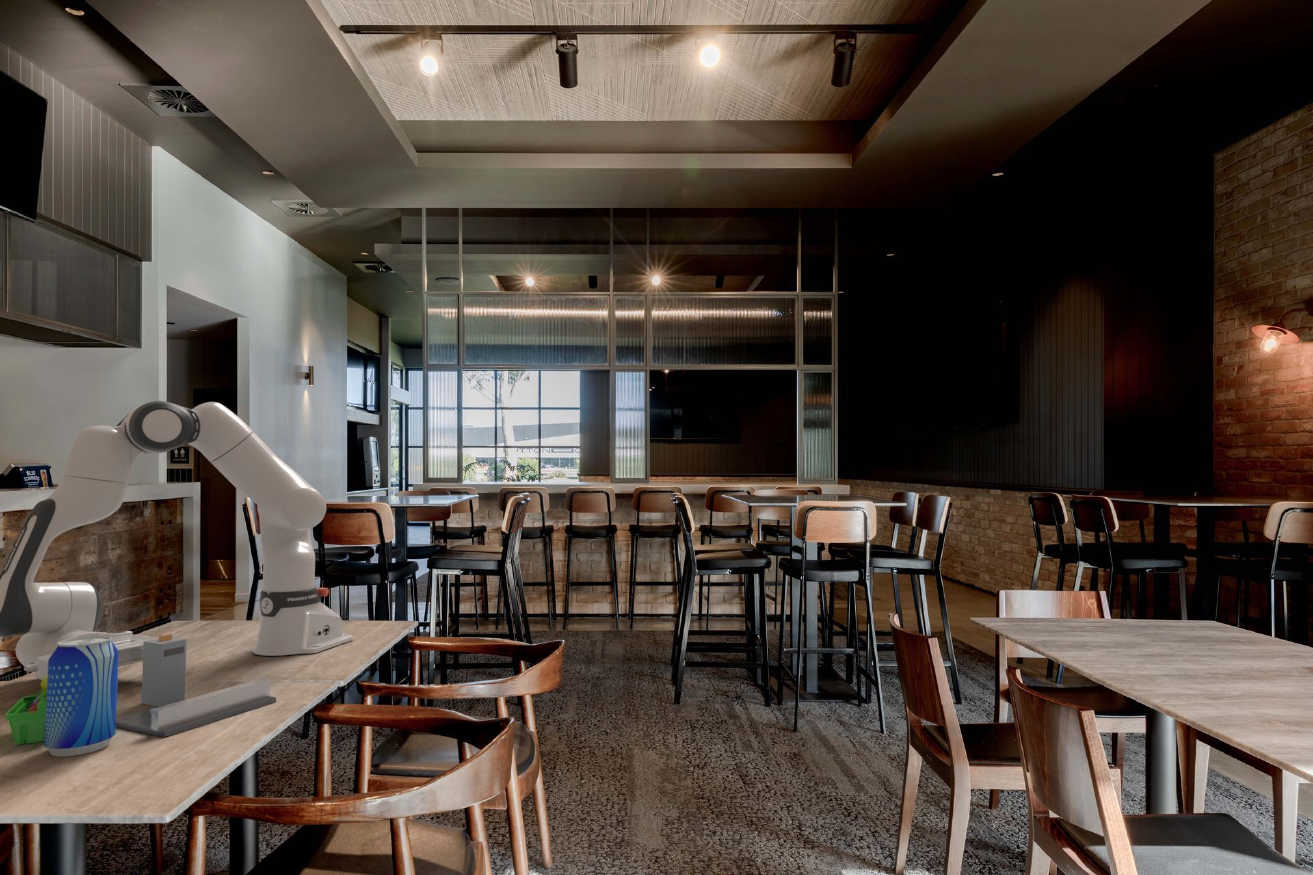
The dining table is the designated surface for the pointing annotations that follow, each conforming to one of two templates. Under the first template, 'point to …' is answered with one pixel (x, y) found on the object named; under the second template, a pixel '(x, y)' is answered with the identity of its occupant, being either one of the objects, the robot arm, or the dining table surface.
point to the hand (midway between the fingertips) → (126, 661)
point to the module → (163, 670)
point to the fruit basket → (29, 717)
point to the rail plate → (147, 716)
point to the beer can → (81, 696)
